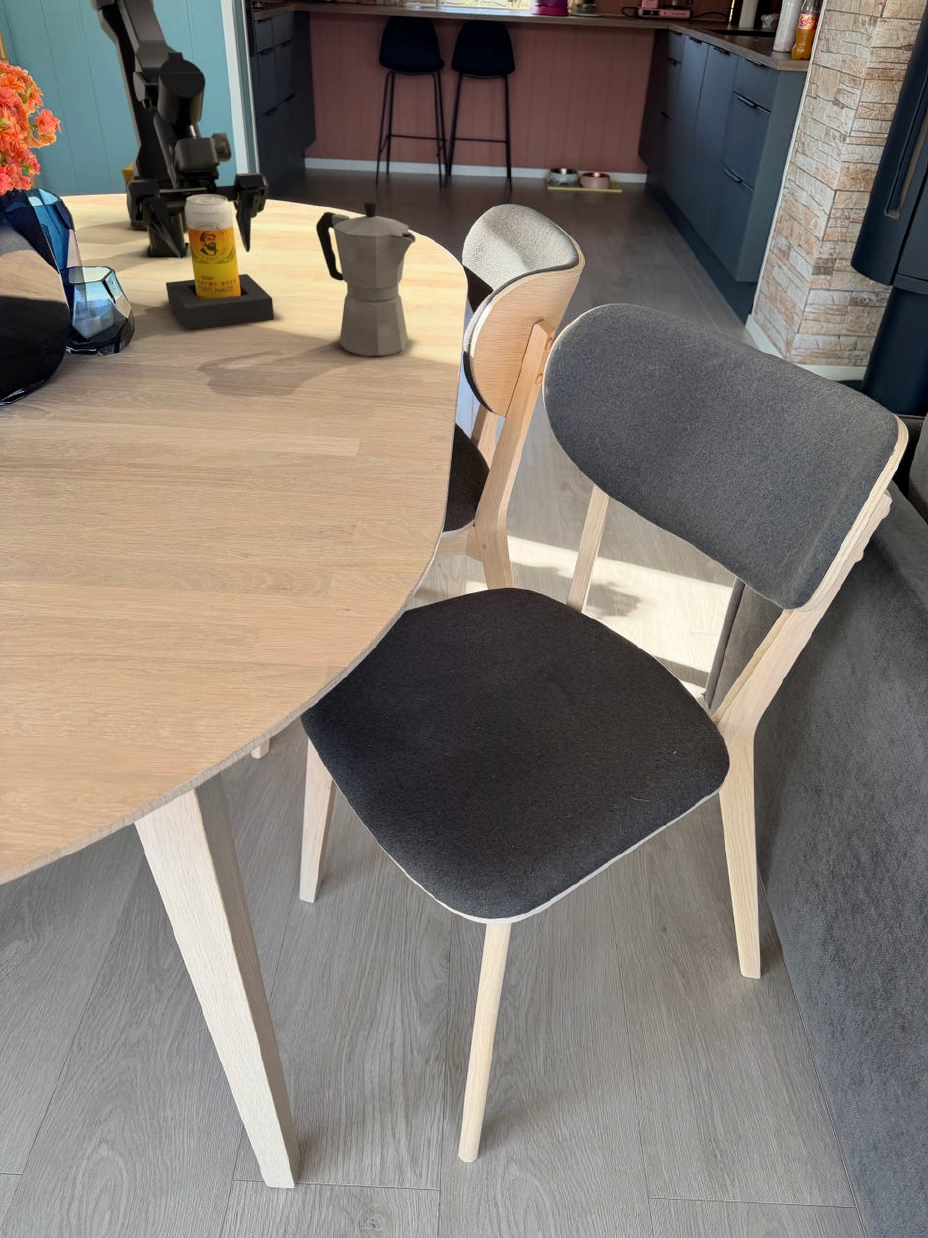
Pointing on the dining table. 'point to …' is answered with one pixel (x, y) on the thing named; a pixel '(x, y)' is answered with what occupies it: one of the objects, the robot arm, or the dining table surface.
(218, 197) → the beer can
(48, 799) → the dining table surface
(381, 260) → the coffeepot
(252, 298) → the socket pad
